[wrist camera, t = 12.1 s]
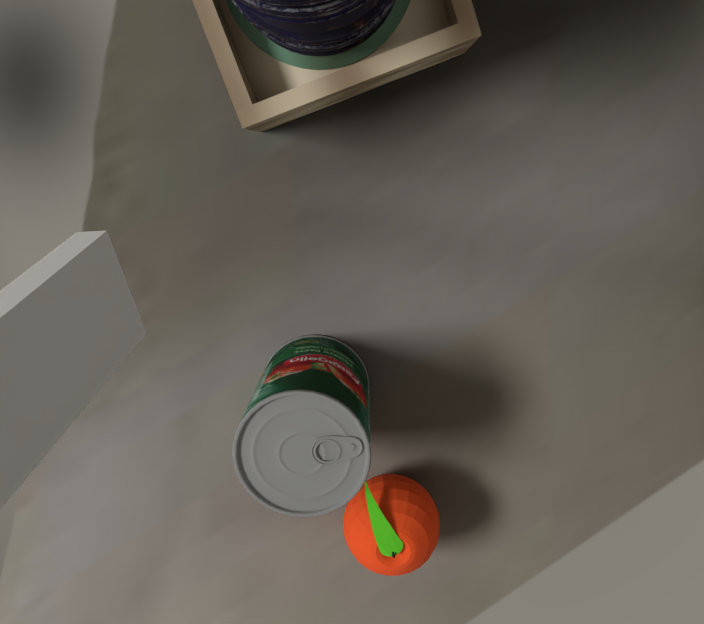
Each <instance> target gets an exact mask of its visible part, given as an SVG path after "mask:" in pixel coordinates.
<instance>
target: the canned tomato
mask: <svg viewBox="0 0 704 624" xmlns="http://www.w3.org/2000/svg"><path fill="white" fill-rule="evenodd" d="M369 387H370V385H369V377H368V373H367V370H366V368H365V365H364V363H363V362H362V360H361V358H360V357H359V356H358V355H357V354H356V352H355V351H354V350H353V349H352V348H350V347H349V346H348V345H346V344H345V343H343V342H341V341H339V340H337V339H335V338H332V337H328V336H324V335H307V336H301V337H298V338H295V339H292V340H290V341H289V342H287V343H285V344H283V345H282V346H281V347H280V348H279V349H277V350H276V351H275V353H274V354H273V355H272V356H271V358H270V359H269V361H268V363H267V365H266V367H265V370H264V373H263V375H262V377H261V379H260V381H259V384H258V386H257V388H256V390H255V392H254V395H253V397H252V399H251V401H250V403H249V405H248V408H247V410H246V412H245V414H244V416H243V418H242V420H241V422H240V424H239V426H238V428H237V430H236V433H235V437H234V441H233V462H234V467H235V470H236V473H237V475H238V478H239V480H240V482H241V483H242V485H243V486H244V488H245V489H246V491H247V492H248V493H249V494H250V495H251V496H252V497H253V498H254V499H255V500H256V501H258V502H259V503H261V504H262V505H264V506H265V507H267V508H269V509H271V510H273V511H275V512H278V513H281V514H284V515H288V516H294V517H314V516H320V515H324V514H327V513H331V512H333V511H335V510H337V509H339V508H341V507H342V506H344V505H345V504H346V503H348V502H349V501H350V500H352V499H353V498H354V496H355V495H356V494H357V493H358V492H359V491H360V489H361V488H362V486H363V484H364V482H365V481H366V478H367V475H368V472H369V469H370V463H371V449H370V411H369V410H370V407H369V405H370V403H369Z"/></svg>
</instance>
